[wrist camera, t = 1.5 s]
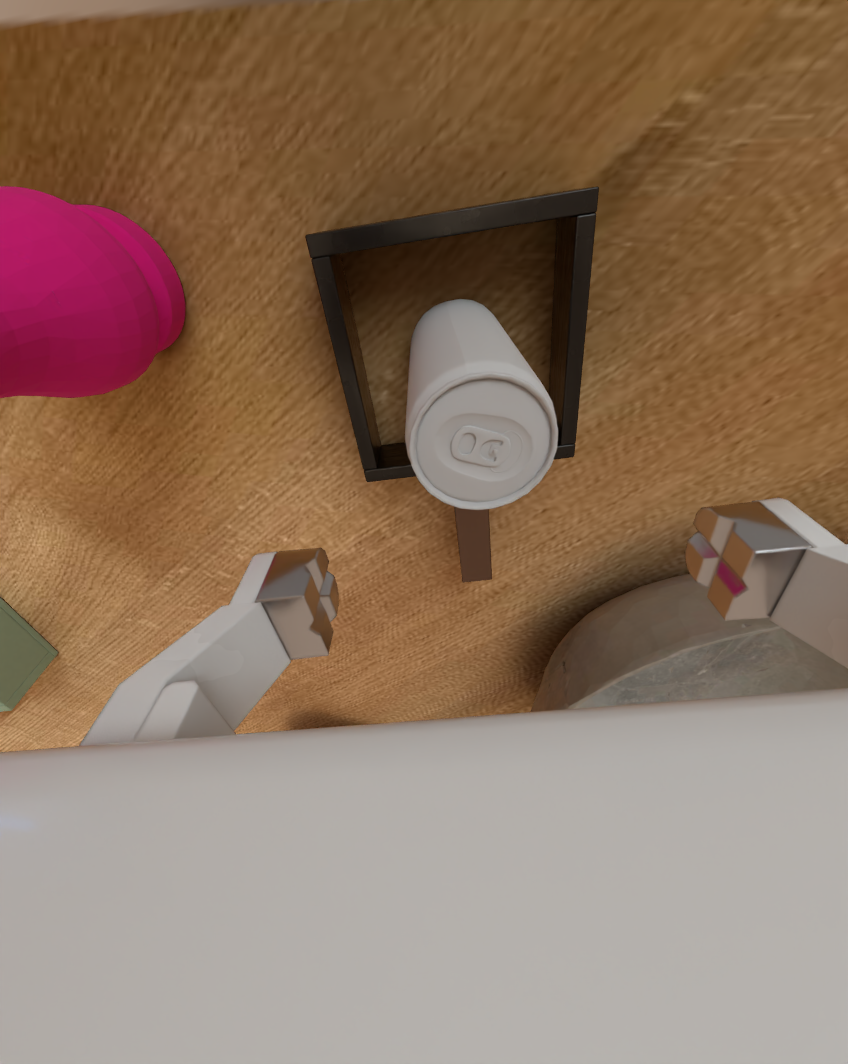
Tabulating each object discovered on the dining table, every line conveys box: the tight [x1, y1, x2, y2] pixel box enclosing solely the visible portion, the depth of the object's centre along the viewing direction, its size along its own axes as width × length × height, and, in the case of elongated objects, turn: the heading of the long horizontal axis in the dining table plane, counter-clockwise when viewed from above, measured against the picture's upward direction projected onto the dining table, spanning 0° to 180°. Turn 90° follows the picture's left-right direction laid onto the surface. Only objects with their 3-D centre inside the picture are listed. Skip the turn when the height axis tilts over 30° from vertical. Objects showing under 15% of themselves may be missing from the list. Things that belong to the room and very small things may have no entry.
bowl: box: [531, 574, 848, 712], centre depth 34 cm, size 28×28×10 cm
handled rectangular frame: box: [306, 187, 599, 582], centre depth 24 cm, size 20×12×3 cm, turn 8°
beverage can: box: [405, 299, 558, 510], centre depth 18 cm, size 5×5×12 cm
